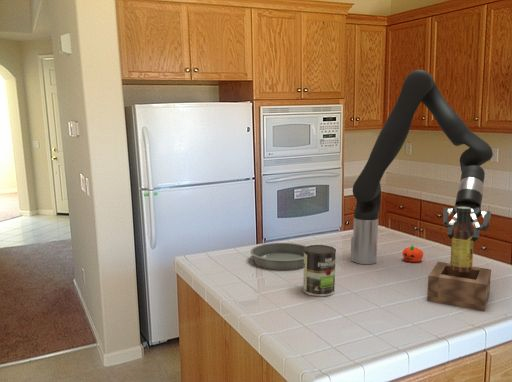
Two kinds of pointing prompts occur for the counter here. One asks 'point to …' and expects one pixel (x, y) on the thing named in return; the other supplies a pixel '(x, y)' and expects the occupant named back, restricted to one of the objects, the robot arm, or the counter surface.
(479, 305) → the bottle block
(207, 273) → the counter surface
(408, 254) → the pumpkin
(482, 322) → the counter surface
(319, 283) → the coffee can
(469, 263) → the sauce bottle
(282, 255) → the cake pan
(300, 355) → the counter surface
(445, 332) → the counter surface
